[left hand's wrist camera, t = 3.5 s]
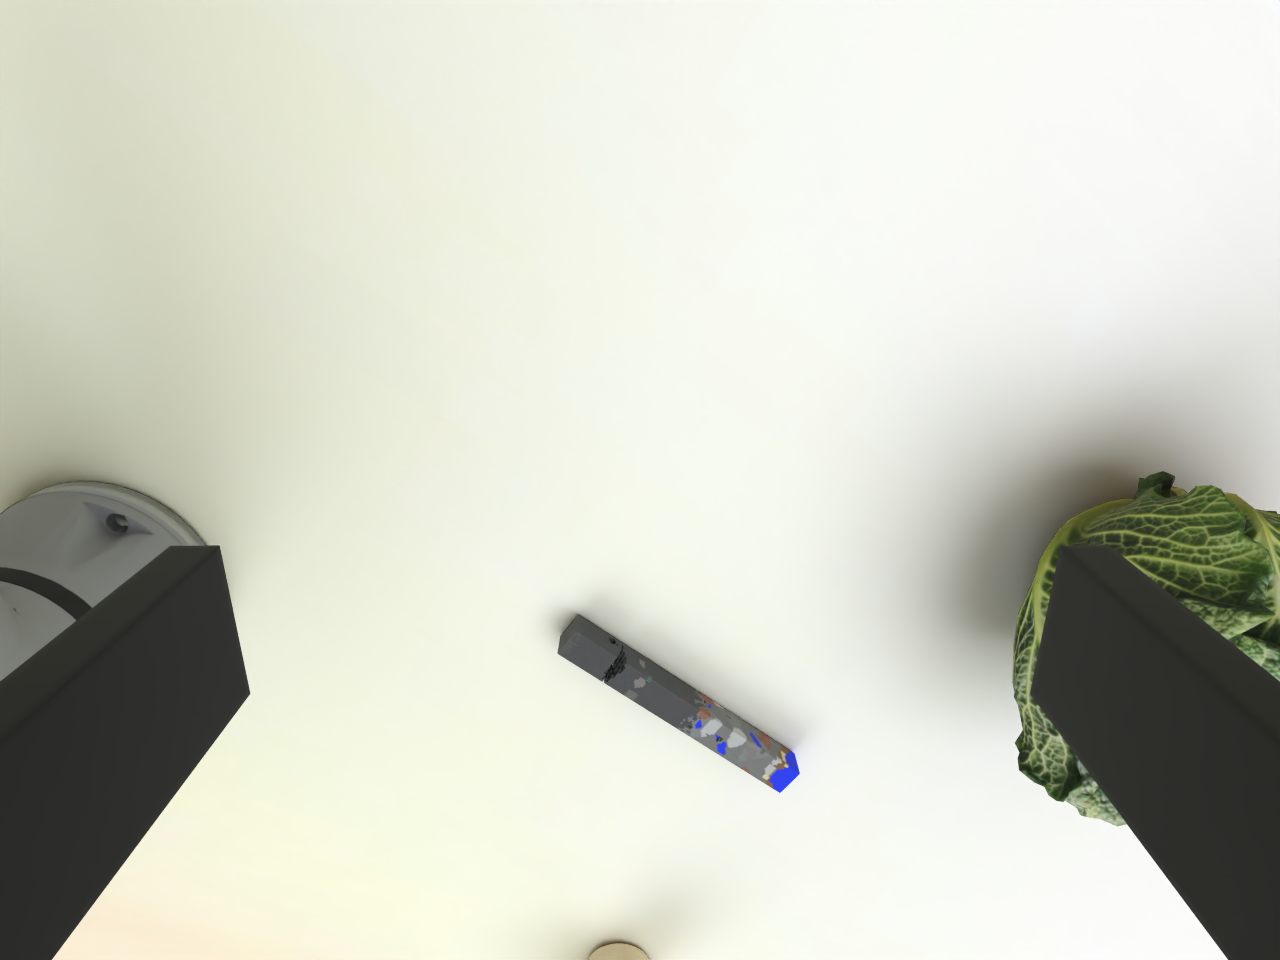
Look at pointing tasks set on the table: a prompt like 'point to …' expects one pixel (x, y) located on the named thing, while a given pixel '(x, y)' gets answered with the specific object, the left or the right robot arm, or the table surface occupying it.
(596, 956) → the candle
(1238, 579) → the vegetable
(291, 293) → the table surface
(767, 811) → the table surface
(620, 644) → the pillar
